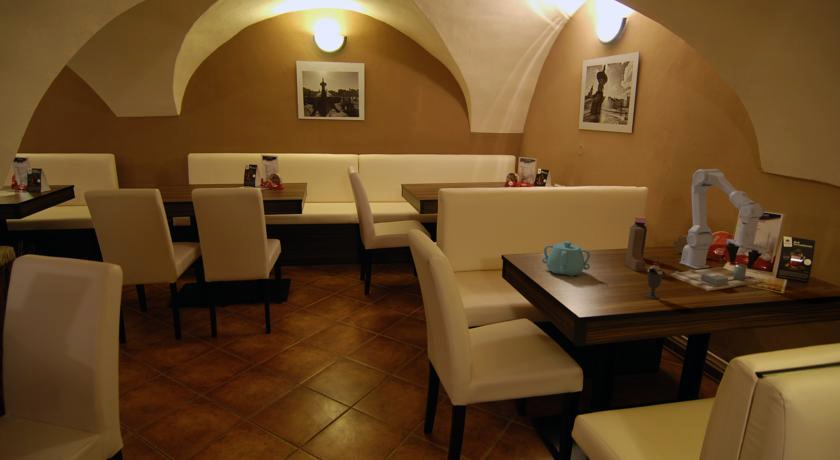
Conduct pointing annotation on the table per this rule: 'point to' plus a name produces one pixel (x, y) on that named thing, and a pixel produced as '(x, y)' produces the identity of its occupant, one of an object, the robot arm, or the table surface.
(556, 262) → the decorative pot
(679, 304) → the table surface
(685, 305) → the table surface
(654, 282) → the sundae
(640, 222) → the bottle
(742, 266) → the marker peg
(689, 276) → the board
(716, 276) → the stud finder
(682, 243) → the wooden carving
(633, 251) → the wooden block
